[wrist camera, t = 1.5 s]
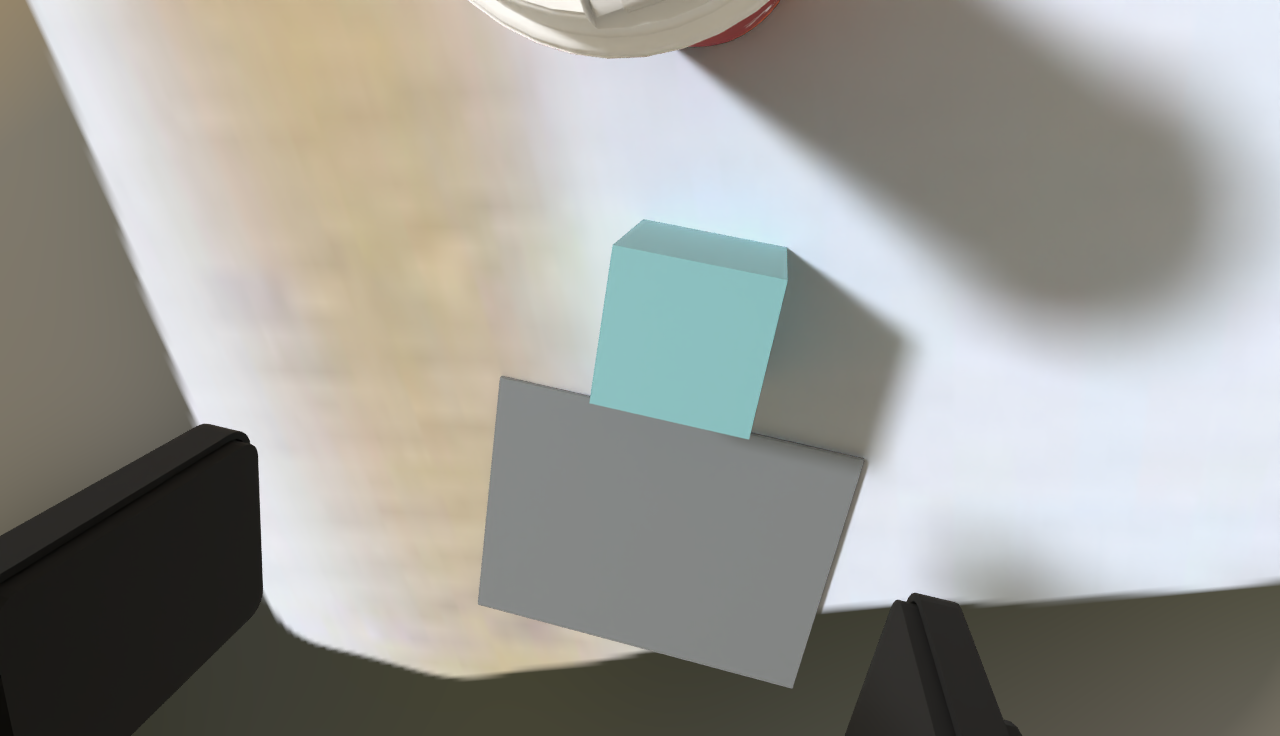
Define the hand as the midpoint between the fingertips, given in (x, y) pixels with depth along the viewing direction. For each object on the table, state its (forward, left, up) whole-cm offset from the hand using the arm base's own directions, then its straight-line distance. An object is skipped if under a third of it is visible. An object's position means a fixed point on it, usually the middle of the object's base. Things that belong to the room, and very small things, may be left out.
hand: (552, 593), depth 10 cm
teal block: (0, 0, -17) cm, 17 cm away
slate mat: (0, +10, -17) cm, 19 cm away
